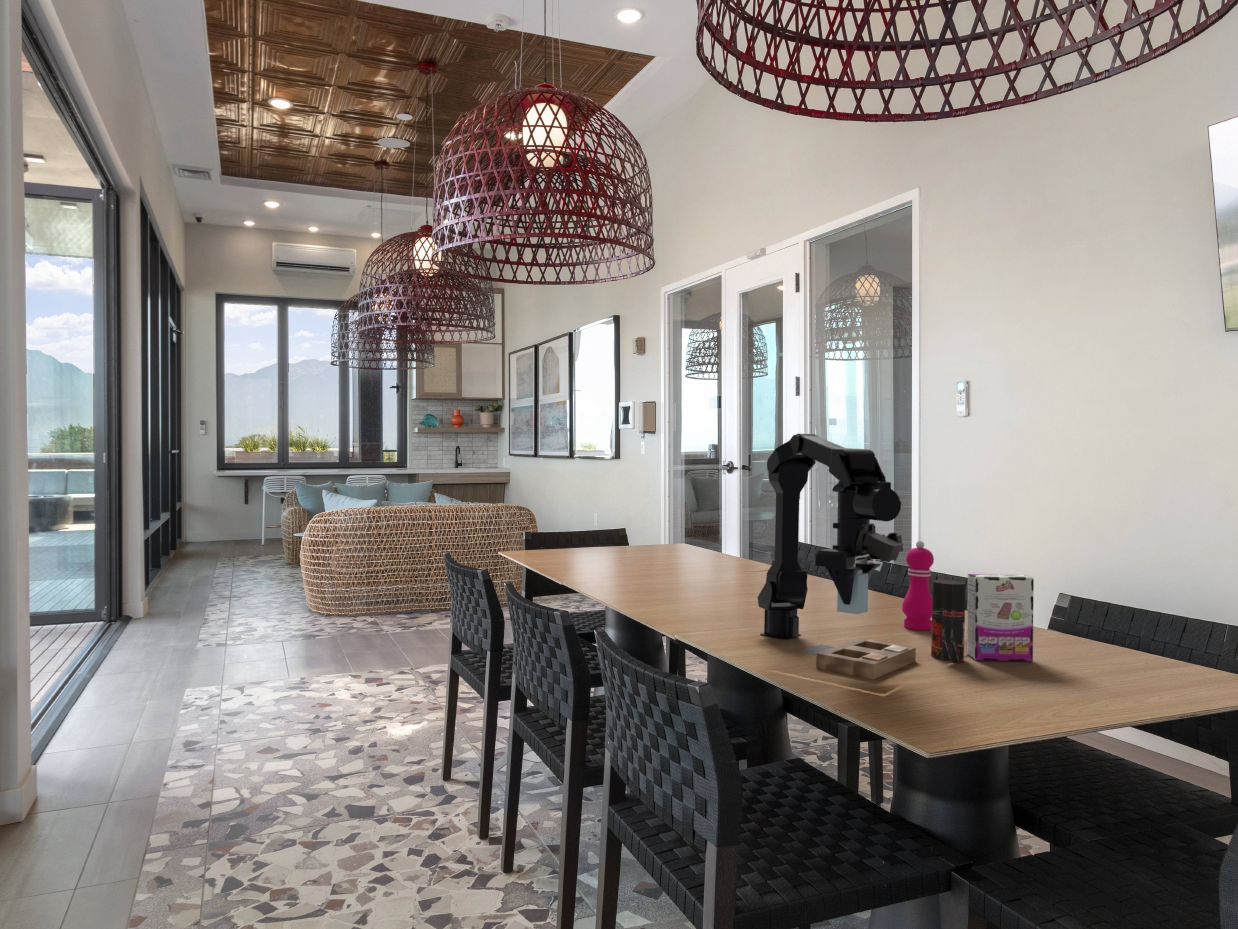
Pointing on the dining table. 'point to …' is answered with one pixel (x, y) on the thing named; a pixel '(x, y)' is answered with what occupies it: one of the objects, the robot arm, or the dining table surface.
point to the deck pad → (816, 649)
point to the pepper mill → (918, 589)
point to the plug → (856, 596)
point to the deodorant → (948, 620)
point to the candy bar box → (1000, 617)
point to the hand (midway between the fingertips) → (852, 603)
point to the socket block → (866, 658)
